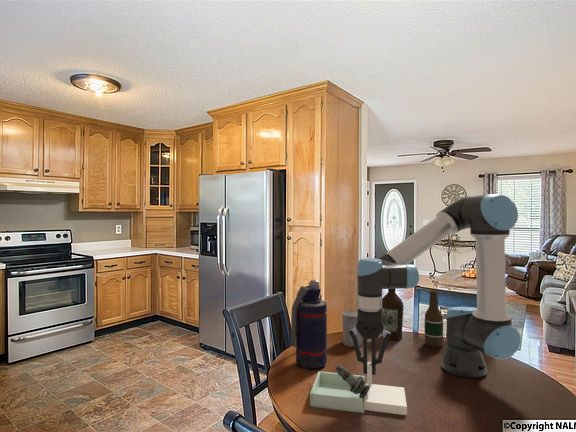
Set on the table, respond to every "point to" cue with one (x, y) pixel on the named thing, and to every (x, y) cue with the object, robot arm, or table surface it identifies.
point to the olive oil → (392, 315)
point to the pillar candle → (349, 323)
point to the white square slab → (386, 399)
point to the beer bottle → (433, 322)
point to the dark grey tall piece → (353, 381)
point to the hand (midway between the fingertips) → (369, 384)
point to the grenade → (309, 328)
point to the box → (335, 393)
